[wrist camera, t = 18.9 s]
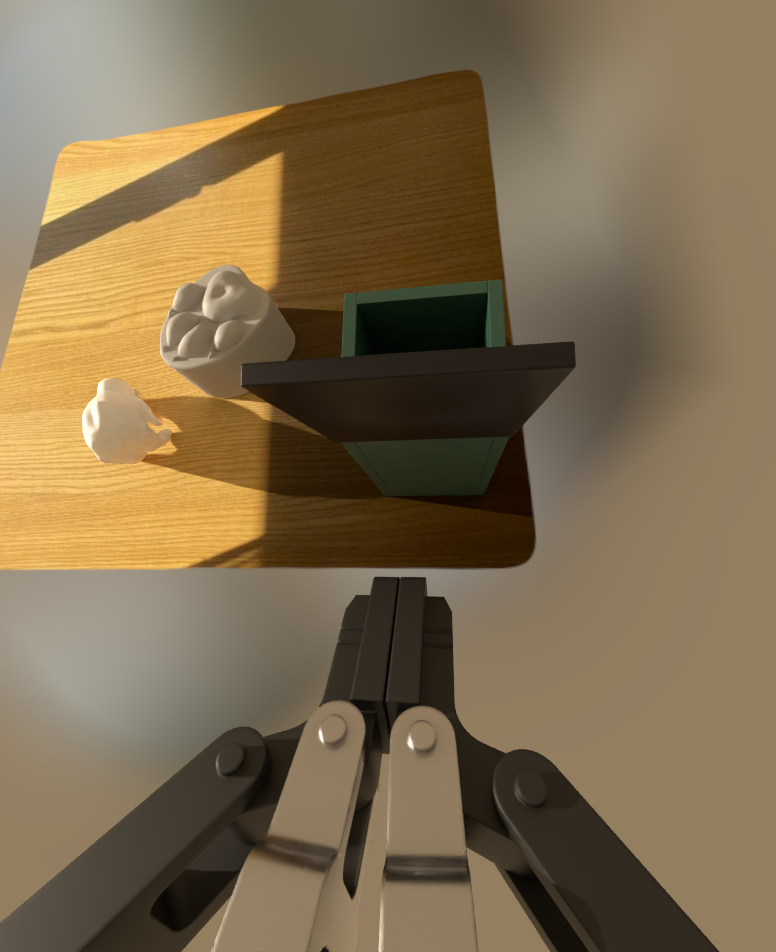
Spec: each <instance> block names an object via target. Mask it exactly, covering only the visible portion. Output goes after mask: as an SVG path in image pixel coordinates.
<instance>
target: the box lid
mask: <svg viewBox="0 0 776 952" xmlns="http://www.w3.org/2000/svg"><path fill="white" fill-rule="evenodd" d="M575 366H576V359H575V343H574V342H558V343H543V344H529V345H513V346H498V347H483V348H468V349H453V350H438V351H424V352H409V353H394V354H379V355H364V356H349V357H334V358H320V359H305V360H290V361H275V362H260V363H245V364H241V387H242V388H244V389H246V390H248V391H249V392H251V393H253V394H254V395H256V396H258V397H259V398H261V399H263V400H265V401H266V402H268V403H270V404H271V405H273V406H275V407H276V408H278V409H280V410H281V411H283V412H285V413H287V414H288V415H290V416H292V417H293V418H295V419H297V420H298V421H300V422H302V423H303V424H305V425H307V426H309V427H310V428H312V429H314V430H315V431H317V432H319V433H320V434H322V435H324V436H326V437H327V438H329V439H331V440H332V441H334V442H336V443H341V442H370V441H399V440H428V439H457V438H486V437H512V436H513V435H514V434H515V433H516V432H517V431H518V430H519V429H520V428H521V427H522V426H523V424H524V423H525V422H526V421H527V420H528V419H529V418H530V417H531V416H532V414H533V413H534V412H535V411H536V410H537V409H538V408H539V407H540V406H541V405H542V403H543V402H544V401H545V400H546V399H547V398H548V397H549V395H551V393H552V392H553V391H554V390H555V389H556V388H557V387H558V386H559V385H560V384H561V382H562V381H563V380H564V379H565V378H566V377H567V376H568V375H569V374H570V372H571V371H572V370H573V369H574V368H575Z"/></svg>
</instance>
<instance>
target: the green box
mask: <svg viewBox="0 0 776 952" xmlns="http://www.w3.org/2000/svg"><path fill="white" fill-rule="evenodd" d="M498 346H506V337H505V321H504V305H503V289H502V280H490V281H480V282H469V283H458V284H447V285H436V286H425V287H414V288H403V289H392V290H381V291H370V292H359V293H348V294H344V313H343V334H342V355H341V357H349V356H364V355H379V354H394V353H409V352H424V351H438V350H453V349H468V348H483V347H498ZM508 439H509V437H486V438H457V439H428V440H399V441H370V442H341V443H342V444H343V446H344V447H345V448H346V449H347V451H348V452H349V453H350V454H351V455H352V457H353V458H354V459H355V460H356V461H357V463H358V464H359V465H360V466H361V467H362V469H363V470H364V471H365V472H366V473H367V475H368V476H369V477H370V478H371V480H372V481H373V482H374V483H375V484H376V486H377V487H378V488H379V489H380V490H381V492H382V493H383V494H384V495H385V496H440V495H484V493H485V491H486V488H487V486H488V484H489V482H490V479H491V477H492V475H493V473H494V470H495V468H496V466H497V464H498V461H499V459H500V457H501V455H502V452H503V450H504V448H505V446H506V443H507V441H508Z"/></svg>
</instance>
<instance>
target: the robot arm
mask: <svg viewBox="0 0 776 952" xmlns="http://www.w3.org/2000/svg"><path fill="white" fill-rule="evenodd" d="M382 754H390V758H389V789H388V792H389V793H388V823H387V850H386V851H387V852H386V861H385V866H384V870H383V877H382V889H381V908H380V934H379V952H478V944H477V935H476V924H475V915H474V904H473V895H472V886H471V878H470V871H469V866H468V859H467V849H466V847H467V848H469V849H471V850H472V851H474V852H476V853H478V854H479V855H481V856H483V857H485V858H486V859H488V860H490V861H492V862H493V863H495V865H496V867H497V869H498V870H499V872H500V873H501V875H502V876H503V878H504V880H505V881H506V883H507V884H508V886H509V888H510V889H511V890H512V892H513V894H514V895H515V897H516V899H517V900H518V902H519V903H520V905H521V906H522V908H523V909H524V911H525V913H526V914H527V916H528V917H529V919H530V920H531V922H532V924H533V925H534V927H535V928H536V930H537V932H538V933H539V935H540V936H541V938H542V939H543V941H544V943H545V944H546V946H547V947H548V949H549V950H550V952H719V951H718V950H717V948H716V947H715V946H714V945H713V944H712V943H711V942H710V941H709V939H708V938H707V937H706V936H705V935H704V934H703V933H702V932H701V930H700V929H699V928H698V927H697V926H696V925H695V923H694V922H693V921H692V920H691V919H690V918H689V917H688V916H687V914H686V913H685V912H684V911H683V910H682V909H681V908H680V907H679V906H678V904H677V903H676V902H675V901H674V900H673V899H672V897H671V896H670V895H669V894H668V893H667V892H666V891H665V890H664V888H663V887H662V886H661V885H660V884H659V883H658V882H657V880H656V879H655V878H654V877H653V876H652V875H651V874H650V873H649V871H648V870H647V869H646V868H645V867H644V866H643V865H642V864H641V862H640V861H639V860H638V859H637V858H636V857H635V856H634V854H633V853H632V852H631V851H630V850H629V849H628V848H627V847H626V845H625V844H624V843H623V842H622V841H621V840H620V839H619V837H618V836H617V835H616V834H615V833H614V832H613V831H612V830H611V828H610V827H609V826H608V825H607V824H606V823H605V822H604V821H603V819H602V818H601V817H600V816H599V815H598V814H597V813H596V811H595V810H594V809H593V808H592V807H591V806H590V805H589V804H588V802H587V801H586V800H585V799H584V798H583V797H582V796H581V795H580V793H579V792H578V791H577V790H576V789H575V788H574V787H573V785H572V784H571V783H570V782H569V781H568V780H567V779H566V777H565V776H564V775H563V774H562V773H561V772H560V771H559V770H558V768H557V767H556V766H555V765H554V764H553V763H552V762H551V761H550V760H548V759H547V758H546V757H544V756H543V755H541V754H539V753H537V752H534V751H531V750H526V749H518V750H513V751H511V752H508V753H507V754H506V753H504V752H501V751H499V750H497V749H495V748H493V747H490V746H488V745H486V744H484V743H482V742H480V741H478V740H476V739H475V738H474V737H472V736H471V735H470V734H469V733H468V732H467V731H466V730H465V729H464V727H463V726H462V724H461V722H460V721H459V719H458V716H457V714H456V710H455V704H454V669H453V634H452V611H451V609H450V608H449V606H448V604H447V602H446V600H445V598H444V597H429V596H427V586H426V578H425V577H423V578H422V577H401V578H399V577H374V579H373V584H372V589H371V594H370V595H356V596H355V597H354V599H353V600H352V601H351V603H350V604H349V606H348V607H347V608H346V611H345V614H344V618H343V622H342V627H341V630H340V633H339V637H338V643H337V645H336V649H335V653H334V657H333V661H332V665H331V669H330V673H329V677H328V681H327V685H326V689H325V693H324V696H323V699H322V701H321V703H320V706H319V707H318V709H316V710H315V711H314V712H313V713H312V715H311V716H310V717H309V719H308V720H307V721H305V722H304V723H302V724H301V725H299V726H297V727H295V728H292V729H289V730H286V731H282V732H279V733H275V734H272V735H269V736H265V737H262V735H261V734H260V733H259V732H258V731H257V730H255V729H253V728H250V727H238V728H234V729H232V730H229V731H227V732H226V733H224V734H222V735H221V736H220V737H218V738H217V739H216V740H215V741H214V742H212V743H211V744H210V745H209V746H208V747H207V748H205V750H203V751H202V752H201V753H200V754H198V755H197V756H196V757H195V758H194V759H192V760H191V761H190V762H189V763H188V764H187V765H185V766H184V767H183V768H182V769H181V770H180V771H178V772H177V773H176V774H175V775H174V776H173V777H171V778H170V779H169V780H168V781H167V782H165V783H164V784H163V785H162V786H161V787H160V788H158V789H157V790H156V791H155V792H154V793H153V794H151V795H150V796H149V797H148V798H147V799H145V800H144V801H143V802H142V803H141V804H140V805H138V806H137V807H136V808H135V809H134V810H133V811H131V812H130V813H129V814H128V815H127V816H125V817H124V818H123V819H122V820H121V821H120V822H118V823H117V824H116V825H115V826H114V827H113V828H111V829H110V830H109V831H108V832H107V833H106V834H104V835H103V836H102V837H101V838H100V839H99V840H97V841H96V842H95V843H94V844H93V845H91V846H90V847H89V848H88V849H87V850H86V851H84V852H83V853H82V854H81V855H80V856H78V857H77V858H76V859H75V860H74V861H73V862H71V863H70V864H69V865H68V866H67V867H66V868H64V870H62V871H61V872H60V873H58V874H57V875H56V876H55V877H54V878H53V879H51V880H50V881H49V882H48V883H47V884H46V885H44V886H43V887H42V888H41V889H40V890H38V891H37V892H36V893H35V894H34V895H33V896H31V897H30V898H29V899H28V900H27V901H26V902H24V904H22V905H21V906H20V907H19V908H18V909H16V910H15V911H14V912H13V913H11V914H10V915H9V916H8V917H7V918H6V919H4V920H3V921H2V922H1V923H0V952H181V951H182V950H183V949H184V948H185V947H186V946H187V945H188V943H189V942H190V941H191V940H192V939H193V938H194V937H195V936H196V934H197V933H198V932H199V931H200V930H201V929H202V928H203V926H205V924H206V923H207V922H208V921H209V920H210V919H211V918H212V916H213V915H214V914H215V913H216V912H217V911H218V910H219V909H220V908H221V906H222V905H223V904H224V903H225V902H226V901H227V900H228V899H229V898H230V896H231V895H232V897H231V899H230V902H229V905H228V907H227V910H226V913H225V915H224V918H223V921H222V924H221V927H220V929H219V932H218V935H217V937H216V940H215V943H214V946H213V948H212V951H211V952H356V947H357V939H358V929H359V906H360V896H361V889H362V884H363V877H364V872H365V867H366V861H367V855H368V849H369V844H370V837H371V832H372V826H373V821H374V815H375V809H376V804H377V798H378V791H379V775H380V766H381V757H382Z"/></svg>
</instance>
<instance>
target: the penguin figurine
mask: <svg viewBox="0 0 776 952" xmlns="http://www.w3.org/2000/svg"><path fill="white" fill-rule="evenodd" d="M136 389H137V388H136ZM136 389H135V390H134V391H133V389H132V388H131V386H130V385H129V384H128V383H126V382H125V381H123V380H121V379H117V378H107V379H104V380H102V381H101V382H100V383H99V385H98V389H97V396H96V397H95V398H94V399H93V400H92V401H90V402H89V404H88V405H87V407H86V409H85V410H84V412H83V435H84V438H85V441H86V443H87V445H88V447H89V448H90V449H91V450H92V451H93V452H94V453H95V455H96V457H97V458H98V459H99V460H100V461H102V462H104V463H114V464H136V463H138V462H140V461H141V460H143V459H144V458H145V457H146V455H147V453H148V451H149V452H151V451H154V450H157V449H158V448H160V447H162V446H164V445H165V444H166V443H167V442H168V441H169V439H170V438H171V435H172V431H171V430H170V429H165V430H163V431H160V432H158V433H156V432H155V431H154V430H152V429H151V428H149V427H148V423H147V422H149V423H151V424H153V425H155V426H162V425H163V424H162V423H161V422H160V421H159V420H158V419H157V418H156V416H155V415H154V414H153V413H152V411H151V410H150V408H149V407H148V405H147V404H146V403H145V402H144V401H142V400H141V399H139V398H142V397H137V396H140V395H142V394H139V395H137V394H138V393H139V391H138V390H139V389H140V388H139V389H138V390H137V391H136ZM135 391H136V392H135ZM143 396H144V395H143ZM144 399H145V398H144Z"/></svg>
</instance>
